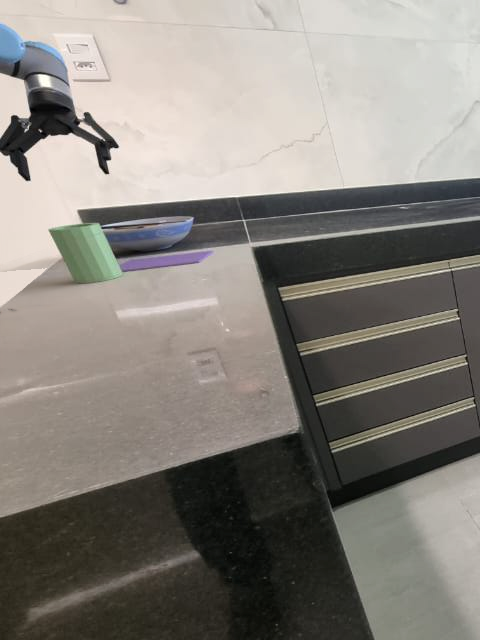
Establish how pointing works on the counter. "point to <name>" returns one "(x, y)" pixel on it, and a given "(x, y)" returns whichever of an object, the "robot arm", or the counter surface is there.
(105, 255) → the green faceted cylinder
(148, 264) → the towel
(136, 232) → the ramen bowl
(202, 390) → the counter surface
